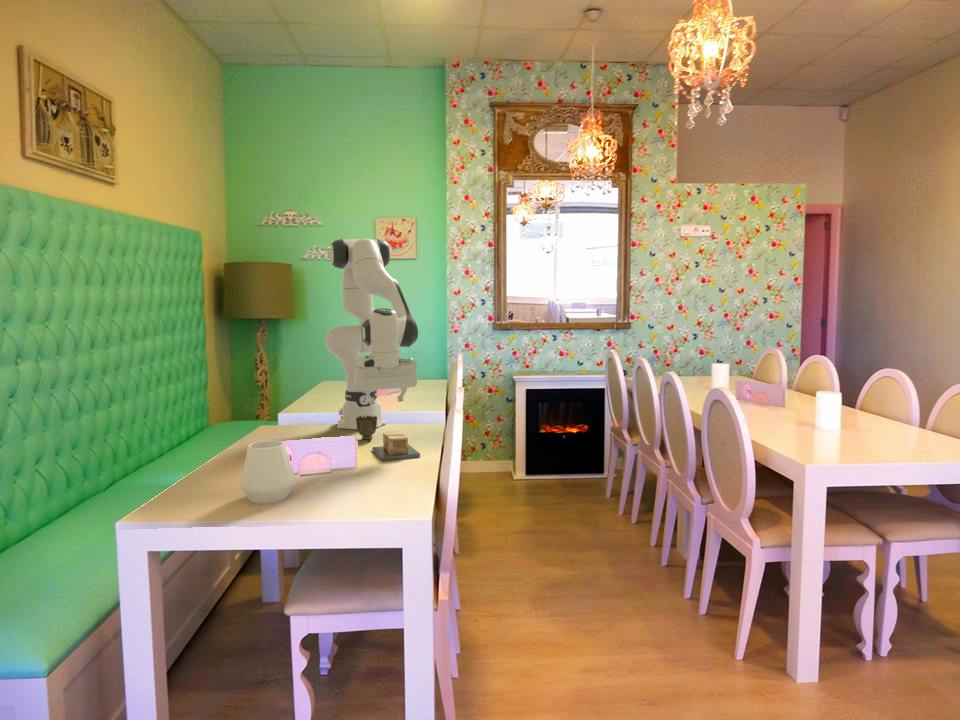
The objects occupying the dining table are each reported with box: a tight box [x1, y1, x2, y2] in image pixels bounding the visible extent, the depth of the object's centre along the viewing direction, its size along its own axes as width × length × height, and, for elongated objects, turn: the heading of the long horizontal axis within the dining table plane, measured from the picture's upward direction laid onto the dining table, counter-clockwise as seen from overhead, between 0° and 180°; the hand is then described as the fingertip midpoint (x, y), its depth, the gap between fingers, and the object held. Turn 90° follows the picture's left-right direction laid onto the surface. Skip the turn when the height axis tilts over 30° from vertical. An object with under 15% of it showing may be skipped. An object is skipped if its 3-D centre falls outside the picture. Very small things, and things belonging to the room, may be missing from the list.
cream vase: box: [239, 439, 296, 505], centre depth 165 cm, size 13×13×14 cm
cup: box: [356, 415, 377, 441], centre depth 229 cm, size 8×7×8 cm
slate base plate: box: [371, 443, 421, 462], centre depth 208 cm, size 14×12×4 cm
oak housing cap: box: [382, 430, 409, 455], centre depth 208 cm, size 10×6×5 cm, turn 22°
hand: (386, 402), depth 209 cm, fingers open, 8 cm apart
